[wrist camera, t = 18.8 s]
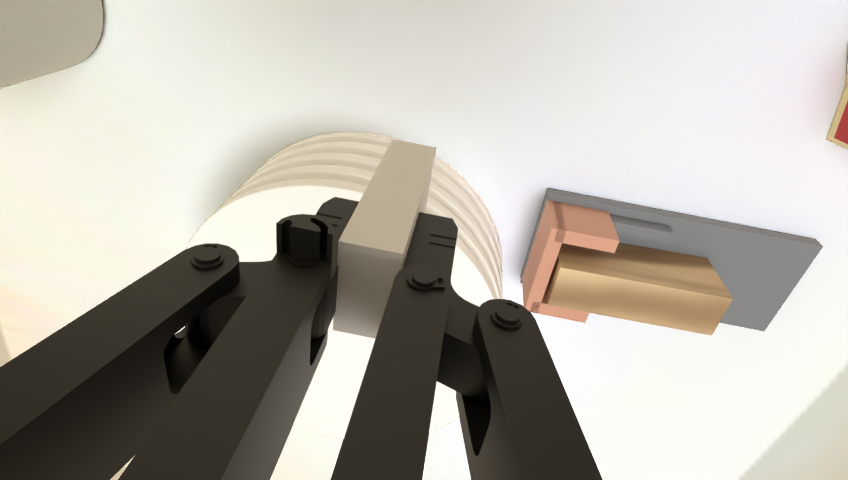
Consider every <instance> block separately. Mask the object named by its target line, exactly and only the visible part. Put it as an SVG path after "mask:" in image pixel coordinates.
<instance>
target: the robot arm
mask: <svg viewBox="0 0 848 480" xmlns="http://www.w3.org/2000/svg"><path fill="white" fill-rule="evenodd" d="M435 152H436V148H435V147H430V146H425V145H420V144H414V143H409V142H404V141H399V140H393V139H392V141H391V143H390V145H389V147H388V149H387V151H386V152H385V154H384V156H383V158H382V160H381V162H380V164H379V166H378V168H377V169H376V171H375V173H374V175H373V177H372V179H371V181H370V183H369V184H368V186H367V188H366V190H365V192H364V194H363V196H362V198H361V199H360V201H354V200H349V199H344V198H339V197H333V198H332V199H330V200H328V201H326V202H324V203H323V204H322V205H321V207H320V208H319V210H318V211H317V213H316V214H315V215H309V214H297V215H291V216H288V217H285V218H282V219H281V220H280V221H278V222H277V223H276V246H277V253H276V255H275V256H274V258H273V259H272V260H270V261H262V262H239V255H238V254H237V252H236V250H234V249H232V248H231V247H229V246H226V245H222V244H218V243H206V244H201V245H196V246H193V247H190V248H188V249H186V250H184V251H182V252H181V253H179V254H178V255H176V256H174V257H173V258H171V259H170V260H168V261H167V262H165V263H163V264H162V265H160V266H159V267H157V268H156V269H154V270H152V271H151V272H149V273H148V274H146V275H145V276H143V277H141V278H140V279H138V280H137V281H135V282H134V283H132V284H130V285H129V286H127V287H126V288H124V289H123V290H121V291H119V292H118V293H116V294H115V295H113V296H112V297H110V298H108V299H107V300H105V301H104V302H102V303H101V304H99V305H97V306H96V307H94V308H93V309H91V310H90V311H88V312H86V313H85V314H83V315H82V316H80V317H79V318H77V319H75V320H74V321H72V322H71V323H69V324H68V325H66V326H64V327H63V328H61V329H60V330H58V331H57V332H55V333H53V334H52V335H50V336H49V337H47V338H45V339H44V340H42V341H41V342H39V343H38V344H36V345H34V346H33V347H31V348H30V349H28V350H27V351H25V352H23V353H22V354H20V355H19V356H17V357H16V358H14V359H12V360H11V361H9V362H8V363H6V364H5V365H3V366H2V367H0V480H110V479H111V478H112V477H113V476H114V475H115V474H116V473H117V472H118V471H119V470H120V469H121V468H122V467H123V466H124V465H125V464H126V463H127V462H128V461H129V460H130V459H131V458H132V457H133V456H134V458H133V459H132V461H131V462H130V464H129V465H128V466H127V468H126V469H125V471H124V472H123V474H122V475H121V476H120V478H119V479H118V480H270V478H271V475H272V473H273V471H274V468H275V466H276V464H277V461H278V459H279V457H280V454H281V452H282V449H283V447H284V445H285V442H286V440H287V438H288V435H289V433H290V430H291V428H292V426H293V423H294V421H295V419H296V416H297V414H298V412H299V409H300V407H301V404H302V402H303V400H304V397H305V395H306V393H307V390H308V388H309V385H310V383H311V381H312V378H313V376H314V374H315V371H316V369H317V367H318V364H319V362H320V359H321V357H322V355H323V352H324V350H325V348H326V345H327V339H328V328H329V325H330V323H331V321H332V319H333V330H335V331H340V332H344V333H349V334H354V335H359V336H364V337H369V338H374V339H375V342H374V345H373V348H372V351H371V355H370V358H369V361H368V364H367V367H366V370H365V373H364V377H363V380H362V383H361V386H360V389H359V392H358V396H357V399H356V402H355V405H354V408H353V411H352V414H351V418H350V421H349V424H348V427H347V430H346V433H345V437H344V440H343V443H342V446H341V449H340V452H339V455H338V459H337V462H336V465H335V468H334V471H333V474H332V478H331V480H422V476H423V469H424V462H425V456H426V449H427V442H428V436H429V429H430V422H431V416H432V409H433V402H434V396H435V389H436V382H439V383H441V384H443V385H445V386H447V387H449V388H451V389H453V390H455V391H456V401H457V406H458V412H459V417H460V422H461V427H462V433H463V438H464V443H465V448H466V454H467V459H468V464H469V469H470V475H471V480H602V478H601V475H600V473H599V470H598V468H597V466H596V463H595V461H594V459H593V456H592V454H591V451H590V449H589V447H588V444H587V442H586V439H585V437H584V435H583V432H582V430H581V428H580V425H579V423H578V420H577V418H576V416H575V413H574V411H573V408H572V406H571V404H570V401H569V399H568V396H567V394H566V392H565V389H564V387H563V385H562V382H561V380H560V377H559V375H558V373H557V370H556V368H555V365H554V363H553V361H552V358H551V356H550V354H549V351H548V349H547V346H546V344H545V342H544V339H543V337H542V334H541V332H540V330H539V327H538V325H537V323H536V320H535V318H534V317H533V316H532V314H531V313H530V311H528V310H527V309H526V308H524V307H523V306H522V305H520V304H517V303H515V302H513V301H510V300H504V299H491V300H488V301H486V302H484V303H482V304H481V305H480V307H479V306H477V305H474V304H472V303H470V302H468V301H466V300H465V299H463V298H462V297H461V296H459V295H458V294H457V293H456V292H455V290H454V289H453V287H452V285H451V274H452V267H453V261H454V254H455V247H456V240H457V234H458V227H457V226H456V224H455V222H454V220H453V218H448V217H442V216H437V215H432V214H427V213H425V211H426V205H427V199H428V193H429V187H430V181H431V175H432V169H433V163H434V158H435ZM333 316H334V317H333ZM184 326H185V328H184V329H183V330H181V331H180V332H179V333H177V334H175V333H176V332H178V331H179V330H180V329H181V328H183V327H184ZM174 334H175V335H174Z"/></svg>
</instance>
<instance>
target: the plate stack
mask: <svg viewBox="0 0 848 480" xmlns="http://www.w3.org/2000/svg"><path fill="white" fill-rule="evenodd" d="M392 139H393V140H399V139H395V138H392V137H388V136H383V135H378V134H372V133H363V132H337V133H329V134H323V135H318V136H314V137H311V138H307V139H304V140H302V141H299V142H297V143H294V144H292V145H290V146H288V147H287V148H285V149H283V150H281V151H280V152H278V153H277V154H276V155H274V156H273V157H272V158H270V159H269V160H268V161H267V162H266V163H265V164H264V165H263V166H262V167H261V168H260V169H259V170H258V171H257V172H256V173H254V174H253V175H252V176H251V177H250V178H249V179H248V180H247V181H246V182H245V183H244V184H243V185H242V186H241V187H240V188H239V189H238V190H237V191H236V192H235V193H234V194H233V195H232V196H231V197H230V198H229V199H228V200H227V201H226V202H225V203H223V204H222V205H221V207H220V208H219V209H218V210H217V211H215V212H214V213H213V214H212V215H211V216H210V217H209V218H208V219H207V220H206V221H205V222H204V223H203V224H202V225H201V226H200V228H199V229H198V230H197V231H196V233H195V234H194V235H193V237H192V238H191V240H190V242H189V244H188V246H187V247H186V249H188V248H190V247H193V246H196V245H201V244H206V243H218V244H222V245H226V246H229V247H231V248H232V249H234V250H236V252H237V254H238V255H239V262H262V261H270V260H272V259H273V258H274V256H275V255H276V253H277V246H276V223H277V222H278V221H280V220H281V219H282V218H285V217H288V216H291V215H297V214H309V215H315V214H316V213H317V211H318V210H319V208H320V207H321V205H322V204H323V203H324V202H326V201H328V200H330V199H332V198H333V197H339V198H344V199H349V200H354V201H360V199H361V198H362V196H363V194H364V192H365V190H366V188H367V186H368V184H369V183H370V181H371V179H372V177H373V175H374V173H375V171H376V169H377V168H378V166H379V164H380V162H381V160H382V158H383V156H384V154H385V152H386V151H387V149H388V147H389V145H390V143H391V141H392ZM399 141H402V140H399ZM425 213H427V214H432V215H437V216H442V217H448V218H453V220H454V222H455V224H456V226H457V227H458V234H457V240H456V247H455V254H454V261H453V267H452V274H451V285H452V287H453V289H454V290H455V292H456V293H457V294H458V295H459V296H461V297H462V298H463V299H465V300H466V301H468V302H470V303H472V304H474V305H477V306H479V307H480V305H481V304H482V303H484V302H486V301H488V300H491V299H502V250H501V244H500V239H499V235H498V232H497V229H496V226H495V223H494V221H493V219H492V217H491V214H490V213H489V211H488V209H487V207H486V205H485V204H484V202H483V201H482V199H481V198H480V196H479V195H478V194H477V192H476V191H475V190H474V189H473V188H472V186H471V185H470V184H469V183H468V182H467V181H466V180H465V179H464V178H463V177H462V176H461V175H460V174H459V173H458V172H456V171H455V170H454V169H453V168H452V167H450V166H449V165H448V164H446V163H445V162H444V161H442V160H441V159H439V158H438V157H436V156H435V158H434V163H433V169H432V175H431V181H430V187H429V193H428V199H427V205H426V211H425ZM333 317H334V316H333ZM374 342H375V339H374V338H369V337H364V336H359V335H354V334H349V333H344V332H340V331H335V330H333V319H332V321H331V323H330V325H329V328H328V339H327V345H326V348H325V350H324V352H323V355H322V357H321V359H320V362H319V364H318V367H317V369H316V371H315V374H314V376H313V378H312V381H311V383H310V385H309V388H308V390H307V393H306V395H305V397H304V400H303V402H302V404H301V407H300V409H299V412H298V414H297V416H296V419H295V421H294V423H293V425H294V426H296V427H299V428H302V429H305V430H308V431H311V432H314V433H318V434H322V435H326V436H330V437H335V438H341V439H344V437H345V433H346V430H347V427H348V424H349V421H350V418H351V414H352V411H353V408H354V405H355V402H356V399H357V396H358V392H359V389H360V386H361V383H362V380H363V377H364V373H365V370H366V367H367V364H368V361H369V358H370V355H371V351H372V348H373V345H374ZM457 418H459V412H458V406H457V401H456V391H455V390H453V389H451V388H449V387H447V386H445V385H443V384H441V383H439V382H436V389H435V396H434V402H433V409H432V416H431V422H430V429H429V432H431V431H433V430H436V429H438V428H441V427H443V426H445V425H447V424H449V423H451V422H452V421H454V420H456V419H457Z"/></svg>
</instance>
